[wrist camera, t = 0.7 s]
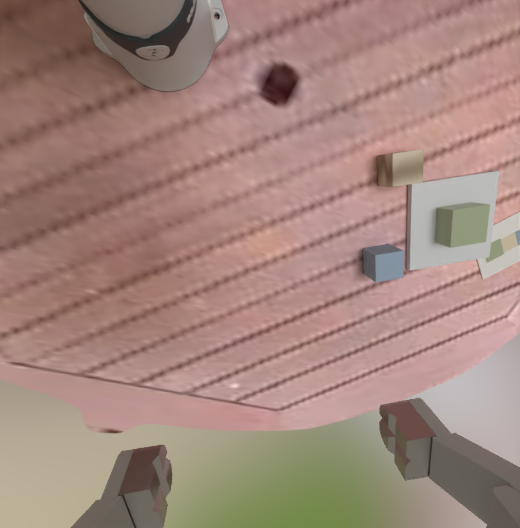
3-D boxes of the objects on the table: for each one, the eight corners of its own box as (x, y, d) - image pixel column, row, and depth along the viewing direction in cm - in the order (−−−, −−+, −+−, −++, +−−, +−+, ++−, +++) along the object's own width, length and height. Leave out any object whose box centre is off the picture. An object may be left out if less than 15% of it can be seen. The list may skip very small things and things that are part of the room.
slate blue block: (362, 248, 54) (375, 255, 49) (388, 243, 54) (403, 250, 50) (363, 272, 56) (375, 282, 51) (388, 268, 56) (403, 277, 51)
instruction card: (470, 236, 55) (471, 237, 55) (538, 201, 55) (540, 201, 54) (482, 279, 59) (483, 279, 58) (547, 246, 58) (548, 246, 57)
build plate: (407, 183, 51) (426, 185, 46) (493, 170, 52) (520, 170, 47) (406, 268, 56) (423, 277, 51) (484, 255, 57) (508, 263, 52)
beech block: (377, 155, 49) (392, 153, 45) (405, 151, 50) (423, 149, 45) (377, 185, 51) (392, 186, 46) (404, 181, 51) (422, 182, 46)
